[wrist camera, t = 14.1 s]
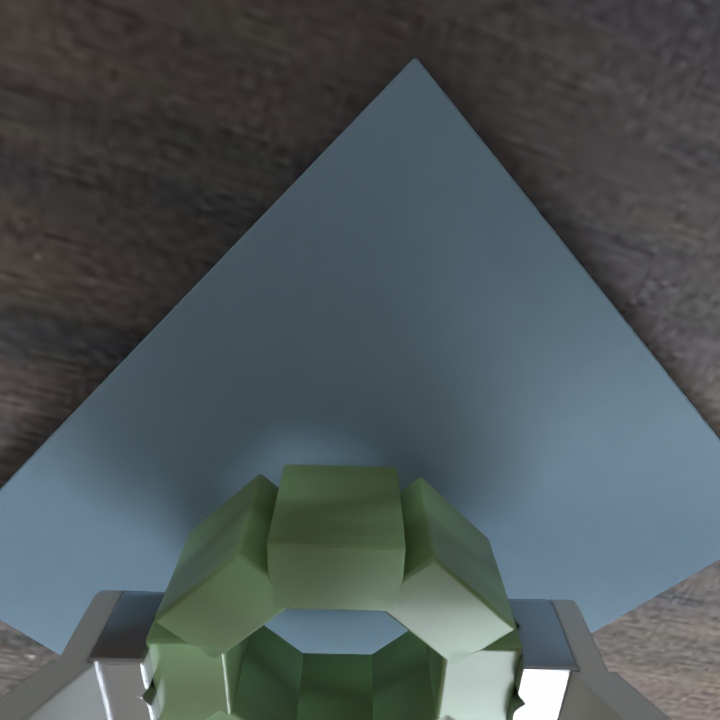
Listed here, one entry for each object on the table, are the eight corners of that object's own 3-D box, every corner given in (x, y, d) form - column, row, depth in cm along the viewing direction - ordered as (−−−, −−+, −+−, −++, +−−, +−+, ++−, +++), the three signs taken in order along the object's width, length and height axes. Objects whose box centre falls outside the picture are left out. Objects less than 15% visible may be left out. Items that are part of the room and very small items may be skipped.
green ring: (341, 402, 10) (336, 473, 8) (551, 595, 12) (591, 693, 10) (123, 586, 12) (75, 682, 10) (336, 728, 14) (332, 832, 12)
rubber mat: (412, 58, 9) (415, 55, 9) (771, 507, 13) (786, 521, 13) (-67, 557, 14) (-81, 573, 13) (305, 783, 18) (303, 800, 17)
